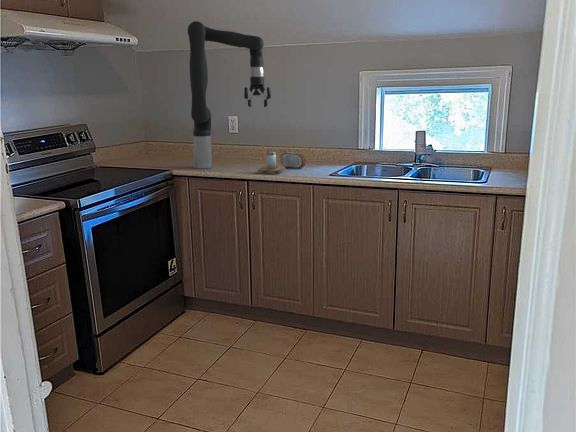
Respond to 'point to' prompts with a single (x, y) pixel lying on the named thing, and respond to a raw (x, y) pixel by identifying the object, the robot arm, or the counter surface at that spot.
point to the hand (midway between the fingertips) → (257, 106)
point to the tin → (293, 160)
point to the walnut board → (271, 170)
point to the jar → (271, 160)
